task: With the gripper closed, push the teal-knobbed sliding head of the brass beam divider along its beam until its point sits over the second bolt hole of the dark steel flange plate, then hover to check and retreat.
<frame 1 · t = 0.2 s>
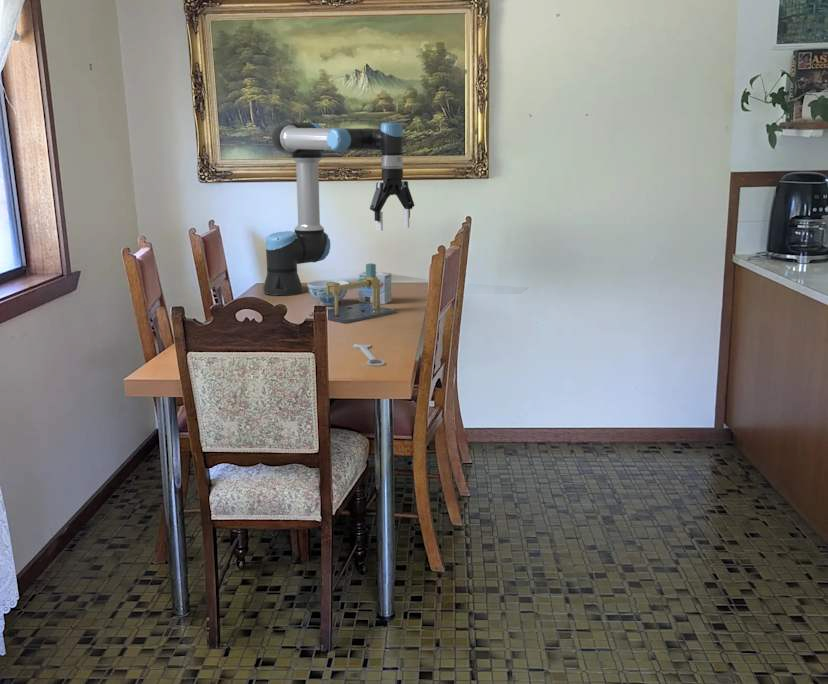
hand: (392, 228, 304), 28 cm above the table, tool pointing down, fingers open, 13 cm apart
divider frame: (351, 314, 295), resting on flange plate
light bulb box: (375, 302, 318), on the table
chinaware: (328, 304, 313), on the table
wrench: (368, 357, 241), on the table
flange plate: (353, 314, 295), on the table
sliding head: (371, 285, 299), point 9 cm above the table, slide at 5.5 cm
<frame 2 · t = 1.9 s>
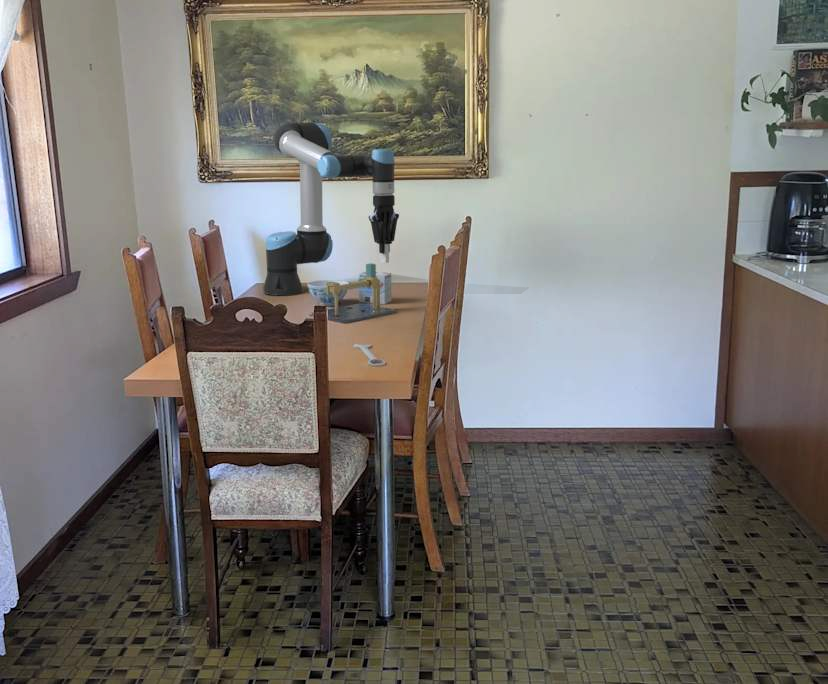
hand: (384, 262, 302), 16 cm above the table, tool pointing down, fingers closed
nothing on the table moved.
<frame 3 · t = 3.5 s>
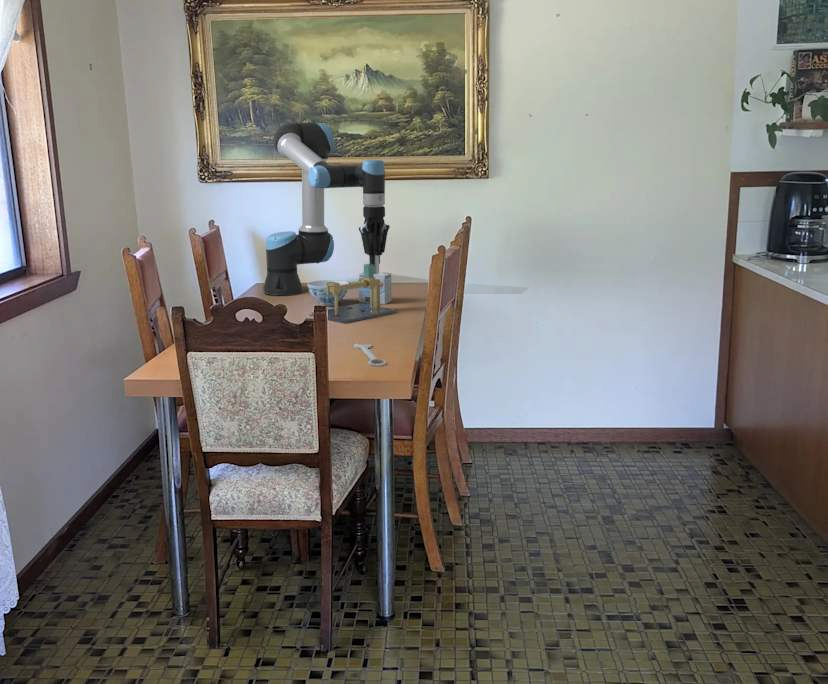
hand: (374, 273, 300), 13 cm above the table, tool pointing down, fingers closed
sliding head: (368, 286, 299), point 9 cm above the table, slide at 4.4 cm, touching gripper
everything else where it was.
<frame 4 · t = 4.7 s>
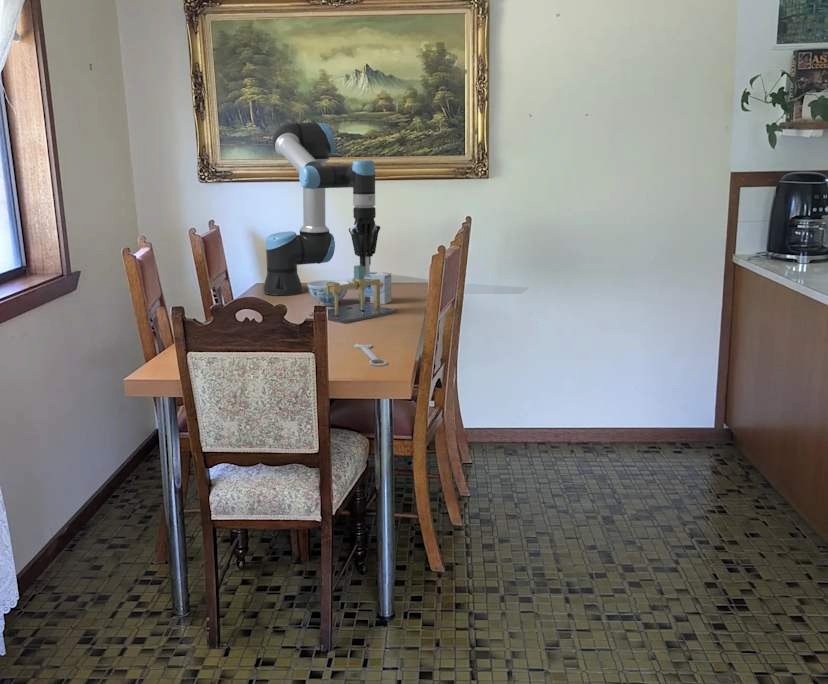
hand: (365, 275, 296), 13 cm above the table, tool pointing down, fingers closed
sliding head: (359, 287, 295), point 9 cm above the table, slide at -0.1 cm, touching gripper
everything else where it was.
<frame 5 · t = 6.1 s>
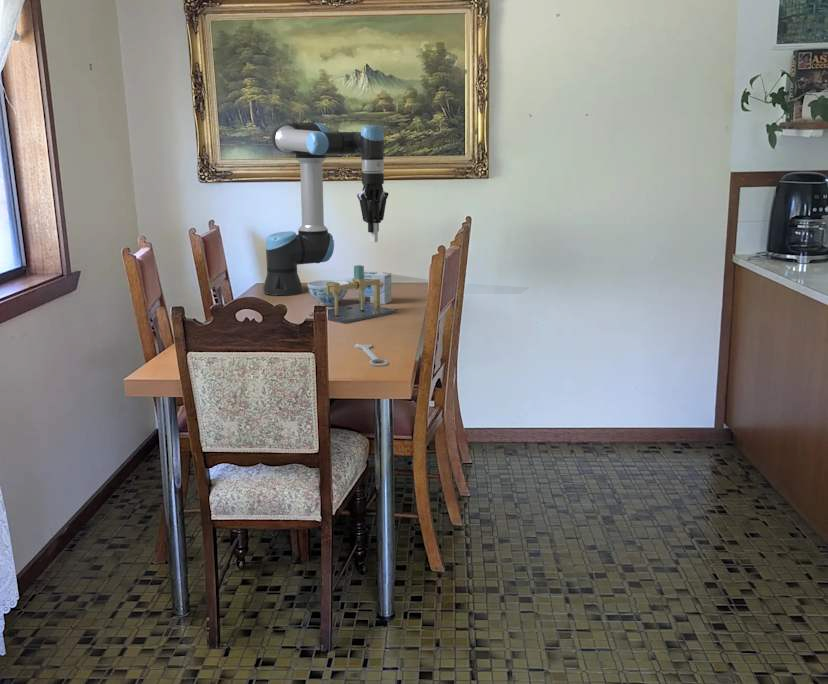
hand: (373, 241, 297), 24 cm above the table, tool pointing down, fingers closed
sliding head: (359, 287, 295), point 9 cm above the table, slide at -0.2 cm
everything else where it was.
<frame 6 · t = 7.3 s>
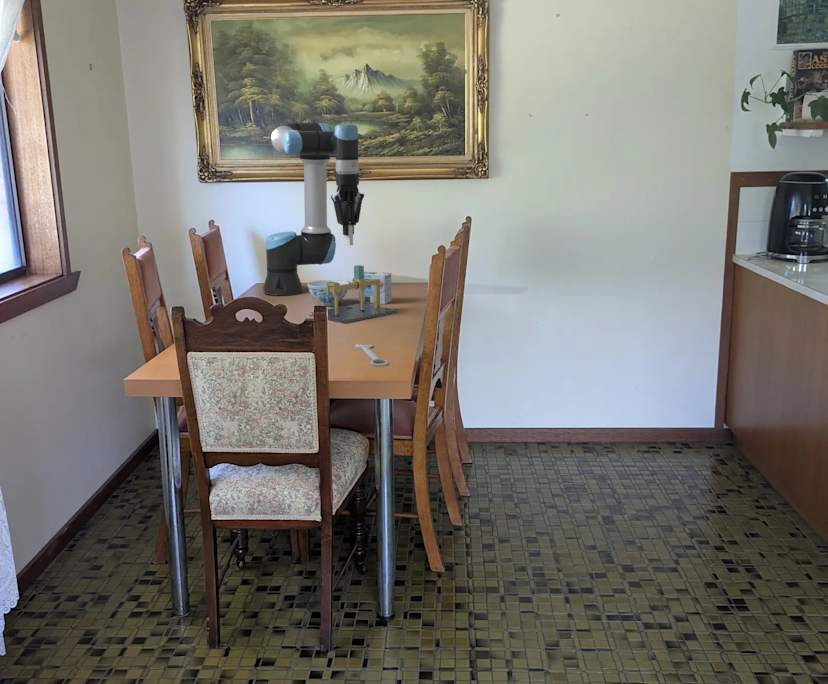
hand: (348, 244, 287), 24 cm above the table, tool pointing down, fingers closed
nothing on the table moved.
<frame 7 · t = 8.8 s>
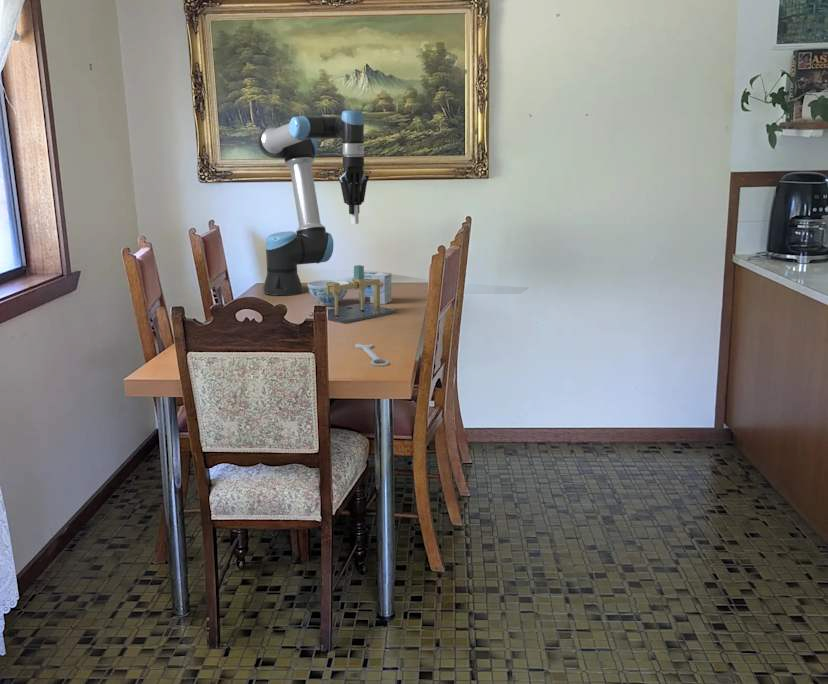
hand: (354, 223, 306), 29 cm above the table, tool pointing down, fingers closed
nothing on the table moved.
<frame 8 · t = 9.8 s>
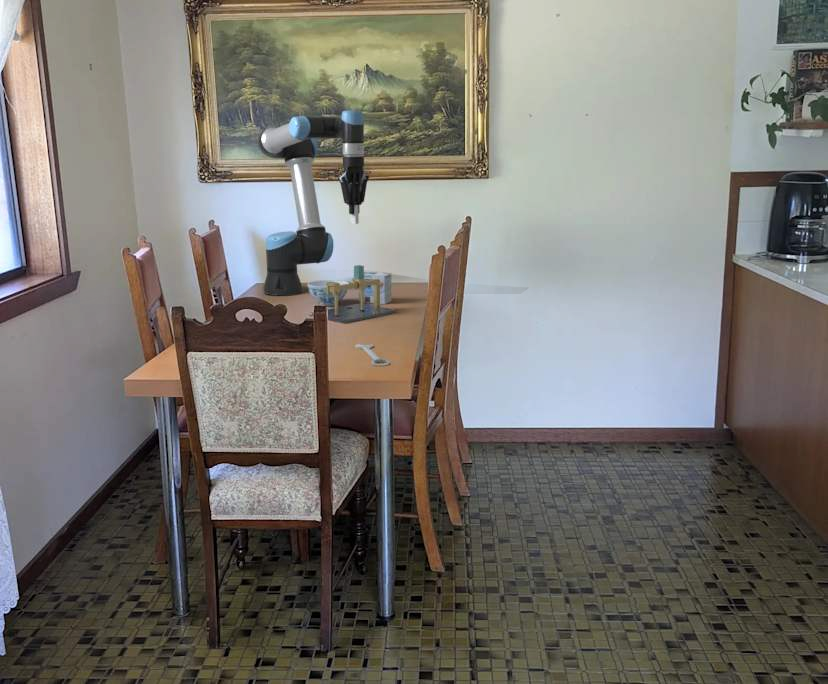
hand: (354, 223, 306), 29 cm above the table, tool pointing down, fingers closed
nothing on the table moved.
at the end: sliding head slide at -0.2 cm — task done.
